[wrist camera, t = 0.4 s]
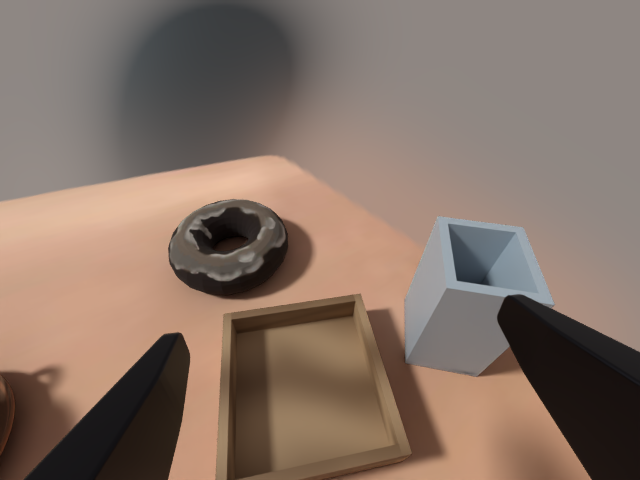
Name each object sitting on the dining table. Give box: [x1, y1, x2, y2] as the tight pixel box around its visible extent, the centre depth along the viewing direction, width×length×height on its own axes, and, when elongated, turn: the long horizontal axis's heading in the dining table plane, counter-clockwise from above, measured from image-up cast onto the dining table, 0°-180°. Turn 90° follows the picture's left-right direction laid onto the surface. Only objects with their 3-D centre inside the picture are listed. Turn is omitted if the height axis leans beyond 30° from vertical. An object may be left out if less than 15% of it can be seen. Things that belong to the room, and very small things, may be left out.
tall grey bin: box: [405, 216, 555, 377], centre depth 22 cm, size 6×6×10 cm
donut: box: [168, 199, 288, 295], centre depth 30 cm, size 12×12×4 cm
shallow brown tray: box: [215, 294, 412, 480], centre depth 21 cm, size 11×11×3 cm
